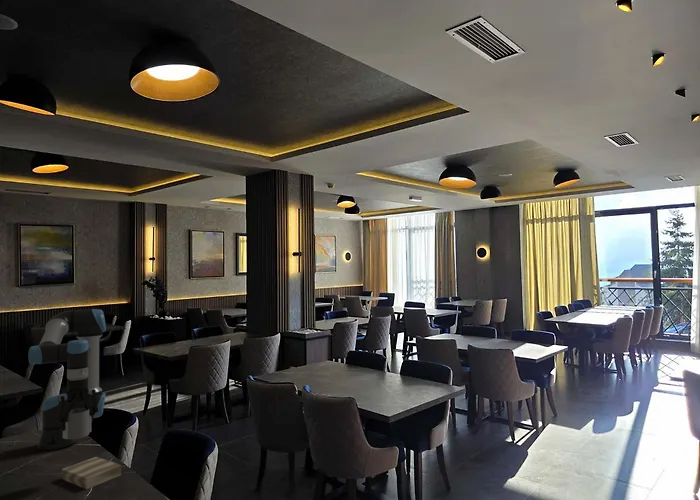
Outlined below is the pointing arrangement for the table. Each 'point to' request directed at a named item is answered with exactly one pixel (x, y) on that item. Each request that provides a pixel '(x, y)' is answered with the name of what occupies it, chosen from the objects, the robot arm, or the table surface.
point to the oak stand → (91, 472)
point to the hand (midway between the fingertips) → (77, 434)
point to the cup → (78, 423)
